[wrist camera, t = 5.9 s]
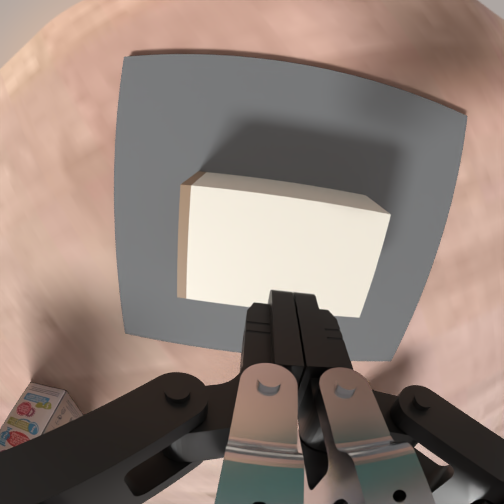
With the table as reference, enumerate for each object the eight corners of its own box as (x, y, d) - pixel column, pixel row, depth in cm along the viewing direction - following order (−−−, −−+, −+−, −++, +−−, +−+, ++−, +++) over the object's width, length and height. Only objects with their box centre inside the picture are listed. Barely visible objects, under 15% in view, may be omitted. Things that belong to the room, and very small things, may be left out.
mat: (463, 115, 15) (467, 116, 14) (389, 357, 23) (390, 361, 22) (127, 58, 15) (124, 56, 14) (127, 329, 23) (125, 333, 22)
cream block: (390, 214, 13) (180, 184, 13) (359, 317, 16) (177, 297, 16) (365, 195, 17) (198, 171, 17) (343, 282, 20) (192, 264, 19)
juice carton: (89, 423, 30) (37, 559, 10) (53, 414, 30) (-2, 533, 10) (66, 390, 27) (-6, 538, 7) (30, 381, 28) (-41, 508, 7)
